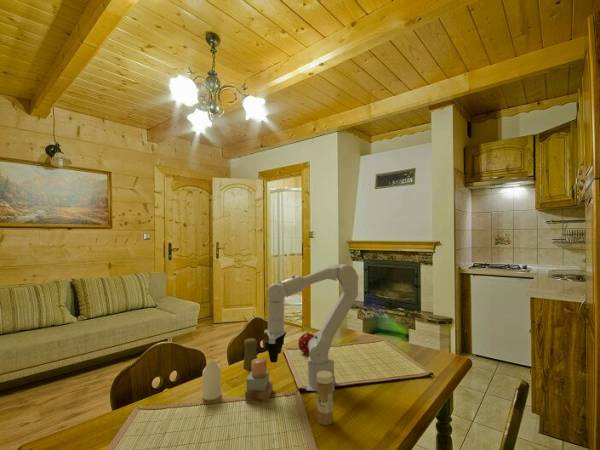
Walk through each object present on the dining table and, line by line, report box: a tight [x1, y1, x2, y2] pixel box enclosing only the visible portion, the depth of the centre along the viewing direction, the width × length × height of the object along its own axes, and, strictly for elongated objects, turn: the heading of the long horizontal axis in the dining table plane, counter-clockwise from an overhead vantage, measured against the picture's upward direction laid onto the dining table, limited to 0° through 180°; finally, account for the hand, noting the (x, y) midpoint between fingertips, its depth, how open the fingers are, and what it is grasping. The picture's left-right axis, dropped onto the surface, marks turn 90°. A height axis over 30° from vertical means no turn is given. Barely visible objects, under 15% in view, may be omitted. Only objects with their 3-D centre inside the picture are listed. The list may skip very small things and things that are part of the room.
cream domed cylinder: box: [201, 360, 222, 401], centre depth 104 cm, size 6×12×6 cm
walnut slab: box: [244, 380, 274, 403], centre depth 104 cm, size 8×8×4 cm
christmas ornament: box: [297, 330, 315, 355], centre depth 139 cm, size 9×9×10 cm
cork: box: [242, 337, 258, 371], centre depth 126 cm, size 6×6×11 cm
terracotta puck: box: [251, 357, 268, 378], centre depth 104 cm, size 5×5×4 cm
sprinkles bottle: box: [316, 371, 334, 426], centre depth 89 cm, size 5×5×13 cm
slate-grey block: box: [245, 370, 270, 391], centre depth 104 cm, size 6×6×4 cm
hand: (275, 357), depth 109 cm, fingers open, 7 cm apart
